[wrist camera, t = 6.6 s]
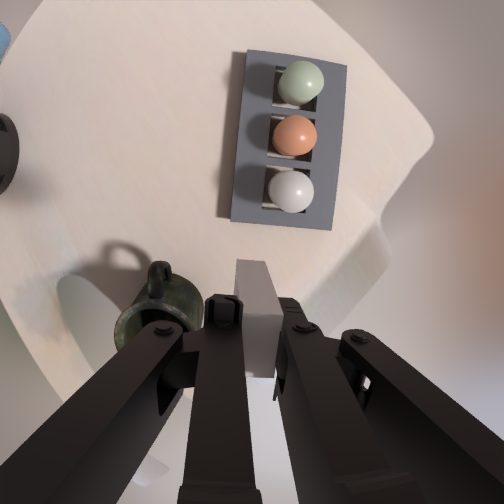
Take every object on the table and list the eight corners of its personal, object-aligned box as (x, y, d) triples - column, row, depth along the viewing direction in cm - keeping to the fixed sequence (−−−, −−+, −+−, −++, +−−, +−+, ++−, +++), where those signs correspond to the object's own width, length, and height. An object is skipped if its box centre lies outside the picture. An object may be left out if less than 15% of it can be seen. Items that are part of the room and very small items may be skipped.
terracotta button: (269, 154, 42) (274, 152, 38) (273, 118, 41) (278, 112, 36) (305, 158, 43) (314, 157, 38) (309, 123, 42) (318, 118, 37)
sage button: (275, 103, 39) (281, 94, 35) (279, 69, 38) (284, 57, 33) (312, 108, 40) (322, 101, 35) (315, 75, 39) (325, 64, 34)
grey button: (265, 205, 43) (270, 210, 38) (269, 168, 42) (274, 168, 37) (302, 209, 43) (311, 214, 38) (306, 172, 42) (316, 173, 37)
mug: (141, 335, 49) (121, 378, 37) (133, 247, 45) (103, 272, 34) (208, 338, 50) (202, 384, 38) (206, 247, 46) (198, 275, 34)
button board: (230, 219, 45) (230, 221, 43) (246, 54, 39) (247, 49, 37) (327, 228, 46) (331, 230, 44) (342, 69, 40) (346, 65, 38)
